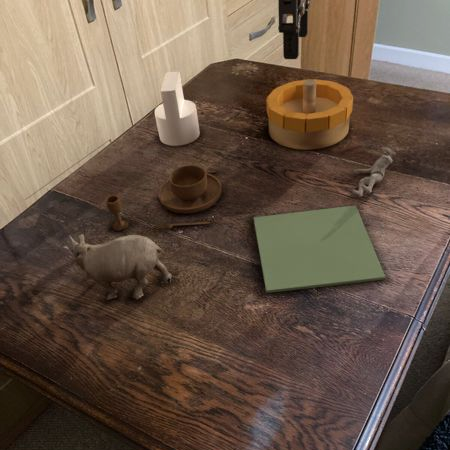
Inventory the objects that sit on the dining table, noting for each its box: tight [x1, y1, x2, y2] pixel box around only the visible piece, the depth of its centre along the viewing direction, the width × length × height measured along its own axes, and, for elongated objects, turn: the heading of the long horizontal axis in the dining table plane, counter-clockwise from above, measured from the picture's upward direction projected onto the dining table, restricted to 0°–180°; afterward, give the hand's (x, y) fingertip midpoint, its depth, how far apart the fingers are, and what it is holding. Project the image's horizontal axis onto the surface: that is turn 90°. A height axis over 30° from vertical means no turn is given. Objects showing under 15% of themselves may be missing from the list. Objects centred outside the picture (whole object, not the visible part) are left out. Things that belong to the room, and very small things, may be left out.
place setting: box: [104, 164, 222, 232], centre depth 91 cm, size 18×20×6 cm
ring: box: [266, 78, 354, 132], centre depth 102 cm, size 17×17×3 cm
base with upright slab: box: [154, 71, 201, 147], centre depth 105 cm, size 9×9×12 cm
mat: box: [253, 204, 386, 294], centre depth 80 cm, size 18×18×1 cm
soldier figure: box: [351, 146, 397, 198], centre depth 90 cm, size 8×5×12 cm
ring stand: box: [267, 79, 351, 151], centre depth 103 cm, size 17×17×10 cm
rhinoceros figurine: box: [62, 233, 173, 301], centre depth 76 cm, size 8×14×15 cm
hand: (296, 46), depth 77 cm, fingers open, 8 cm apart
